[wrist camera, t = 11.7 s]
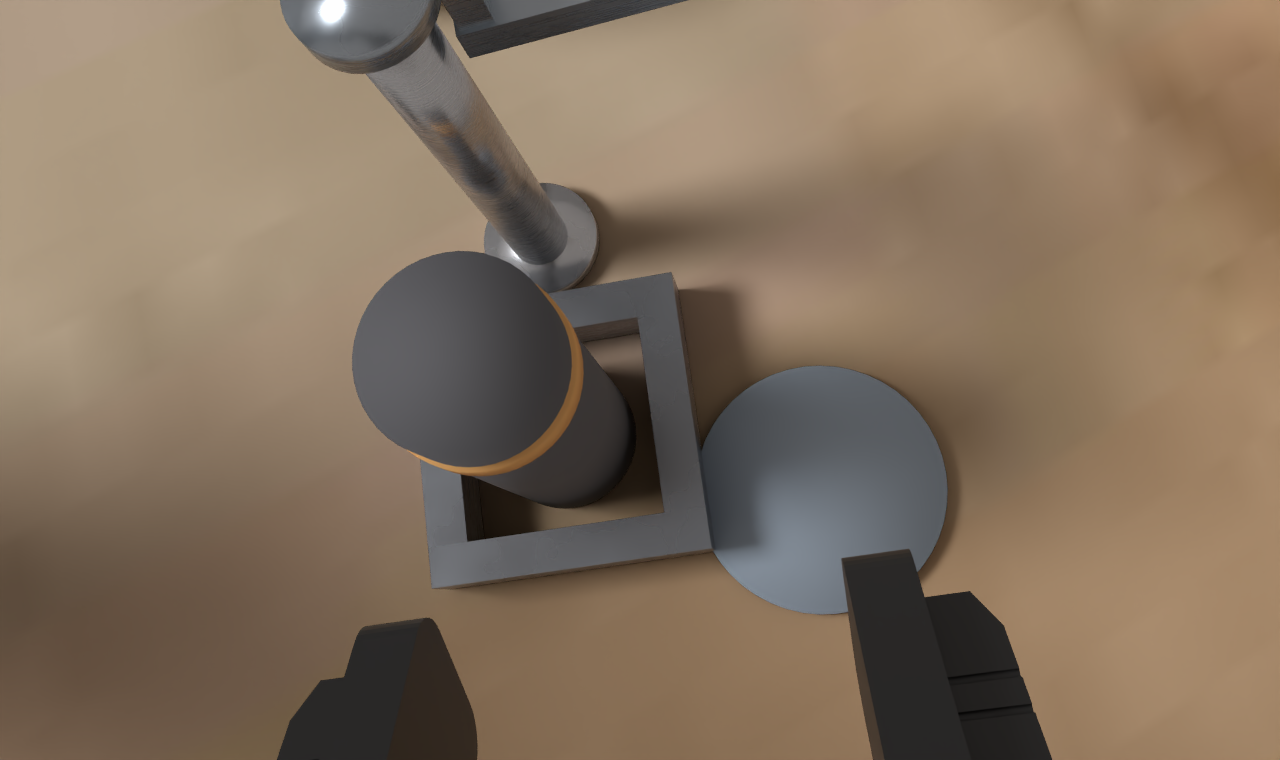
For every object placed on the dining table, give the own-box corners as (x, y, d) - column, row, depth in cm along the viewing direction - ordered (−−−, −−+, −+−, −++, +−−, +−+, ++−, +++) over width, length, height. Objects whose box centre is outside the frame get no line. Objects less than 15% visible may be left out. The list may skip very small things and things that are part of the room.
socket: (451, 589, 37) (432, 588, 35) (427, 332, 39) (407, 317, 37) (716, 551, 36) (711, 548, 34) (678, 288, 38) (671, 272, 36)
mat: (648, 507, 37) (646, 506, 36) (796, 321, 37) (797, 318, 37) (842, 667, 35) (843, 668, 34) (997, 468, 35) (999, 466, 35)
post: (466, 254, 39) (249, 32, 24) (537, 168, 40) (367, -105, 24) (550, 320, 39) (380, 133, 23) (622, 231, 39) (501, -11, 23)
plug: (465, 451, 38) (304, 376, 25) (555, 337, 38) (441, 206, 26) (577, 541, 37) (468, 509, 24) (668, 422, 37) (608, 329, 25)
